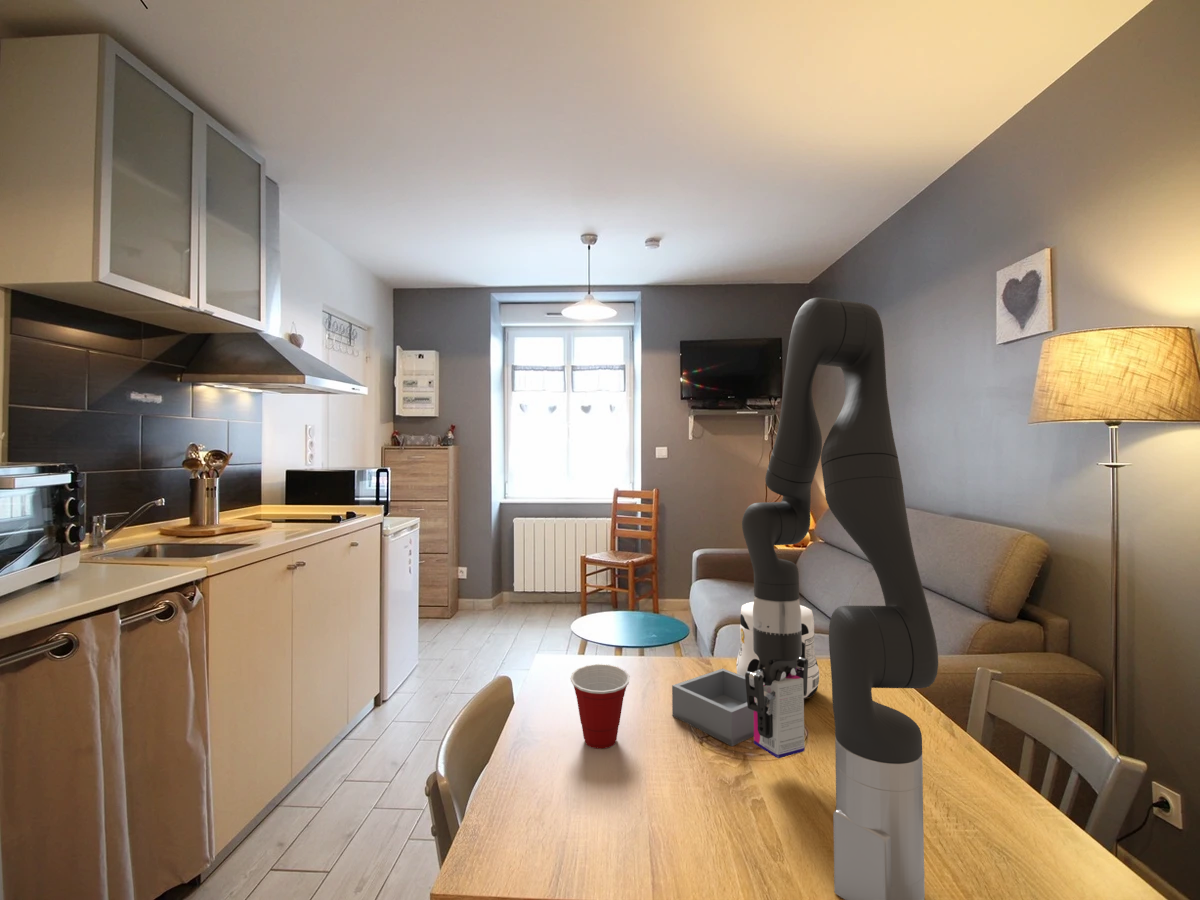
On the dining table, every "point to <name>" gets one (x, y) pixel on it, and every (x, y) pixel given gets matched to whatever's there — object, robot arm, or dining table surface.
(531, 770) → the dining table surface
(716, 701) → the box
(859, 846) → the robot arm
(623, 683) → the plastic cup
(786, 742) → the supplement box
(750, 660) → the milk container
